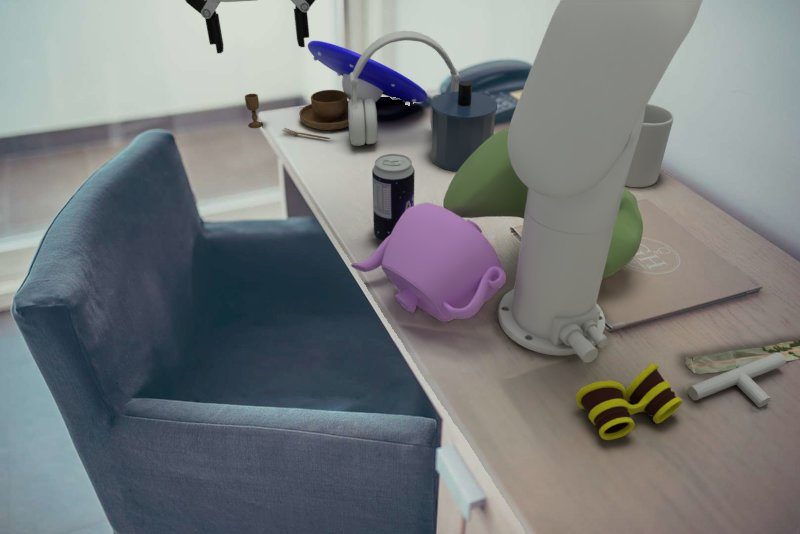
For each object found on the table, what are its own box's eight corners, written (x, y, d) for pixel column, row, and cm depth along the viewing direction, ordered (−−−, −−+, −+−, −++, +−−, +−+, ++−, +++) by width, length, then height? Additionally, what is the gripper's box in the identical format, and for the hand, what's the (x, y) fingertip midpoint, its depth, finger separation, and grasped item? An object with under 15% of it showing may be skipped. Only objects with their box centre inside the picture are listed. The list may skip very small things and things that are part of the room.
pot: (501, 165, 110) (506, 113, 105) (446, 176, 107) (449, 123, 102) (473, 141, 118) (477, 91, 112) (421, 150, 115) (423, 99, 109)
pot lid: (509, 117, 105) (511, 90, 102) (447, 127, 102) (449, 99, 99) (478, 93, 113) (480, 68, 110) (420, 102, 110) (421, 76, 107)
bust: (450, 144, 87) (584, 239, 94) (429, 222, 77) (581, 321, 84) (521, 75, 77) (664, 187, 84) (507, 154, 67) (671, 274, 74)
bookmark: (681, 360, 73) (682, 356, 72) (844, 334, 76) (845, 331, 76) (694, 377, 70) (695, 374, 70) (862, 350, 74) (864, 346, 73)
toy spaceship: (288, 36, 127) (275, 70, 127) (349, 43, 107) (334, 83, 108) (383, 89, 142) (371, 119, 143) (452, 103, 123) (438, 138, 124)
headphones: (351, 154, 113) (346, 43, 102) (348, 134, 120) (343, 28, 109) (462, 148, 115) (469, 38, 104) (453, 128, 122) (459, 24, 111)
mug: (639, 161, 112) (654, 100, 105) (667, 184, 105) (685, 121, 99) (576, 169, 109) (588, 107, 103) (601, 193, 103) (615, 129, 96)
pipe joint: (685, 392, 68) (716, 425, 65) (690, 383, 67) (720, 417, 64) (772, 358, 72) (804, 388, 69) (777, 349, 71) (810, 380, 68)
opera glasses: (597, 451, 63) (613, 425, 60) (568, 406, 67) (582, 379, 63) (675, 422, 66) (695, 396, 63) (644, 381, 69) (661, 354, 66)
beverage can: (409, 250, 90) (410, 173, 83) (369, 245, 91) (367, 169, 84) (416, 228, 94) (418, 154, 87) (379, 224, 95) (377, 150, 88)
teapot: (502, 222, 67) (429, 306, 65) (538, 292, 76) (475, 368, 74) (385, 171, 81) (322, 239, 78) (428, 235, 90) (373, 297, 88)
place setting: (339, 142, 117) (337, 111, 113) (243, 128, 122) (239, 98, 119) (375, 107, 130) (374, 79, 127) (287, 96, 136) (284, 69, 132)
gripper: (149, -111, 63) (185, 62, 73) (324, -117, 66) (336, 51, 76) (156, -119, 69) (189, 43, 79) (317, -123, 72) (328, 33, 82)
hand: (261, 46), depth 78 cm, fingers open, 9 cm apart
